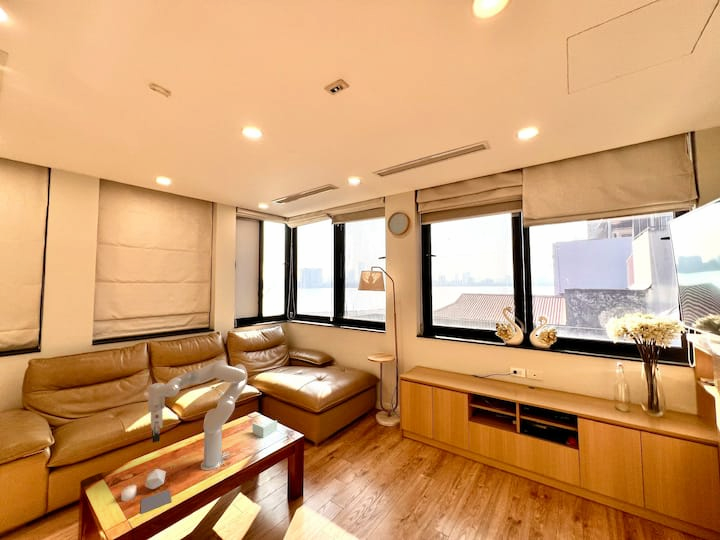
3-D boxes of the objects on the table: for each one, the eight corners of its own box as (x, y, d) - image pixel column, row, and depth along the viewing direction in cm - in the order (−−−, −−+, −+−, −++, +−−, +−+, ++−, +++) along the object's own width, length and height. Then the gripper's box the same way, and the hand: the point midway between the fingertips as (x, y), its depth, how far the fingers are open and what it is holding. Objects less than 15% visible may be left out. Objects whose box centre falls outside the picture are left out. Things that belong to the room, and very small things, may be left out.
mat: (169, 489, 149) (169, 488, 149) (171, 502, 140) (171, 501, 140) (141, 500, 142) (141, 499, 142) (140, 514, 133) (140, 513, 133)
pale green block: (276, 431, 207) (277, 420, 208) (263, 438, 197) (263, 427, 198) (266, 426, 214) (266, 416, 214) (252, 433, 204) (252, 423, 204)
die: (162, 480, 156) (162, 461, 156) (167, 487, 150) (168, 468, 151) (143, 489, 149) (143, 469, 150) (148, 497, 144) (148, 476, 144)
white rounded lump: (136, 491, 148) (136, 483, 148) (136, 498, 143) (136, 489, 143) (121, 496, 144) (121, 488, 145) (120, 503, 140) (120, 495, 140)
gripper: (165, 409, 155) (164, 443, 154) (163, 399, 169) (163, 430, 168) (148, 413, 150) (147, 448, 149) (147, 403, 164) (147, 434, 163)
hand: (155, 438), depth 159 cm, fingers open, 7 cm apart
